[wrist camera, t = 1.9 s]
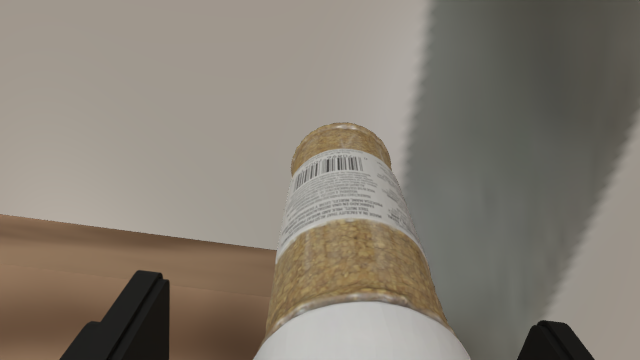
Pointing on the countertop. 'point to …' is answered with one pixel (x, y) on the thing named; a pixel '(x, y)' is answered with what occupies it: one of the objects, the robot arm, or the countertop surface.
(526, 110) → the countertop surface
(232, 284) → the walnut hole board
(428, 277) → the sprinkles bottle
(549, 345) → the robot arm
